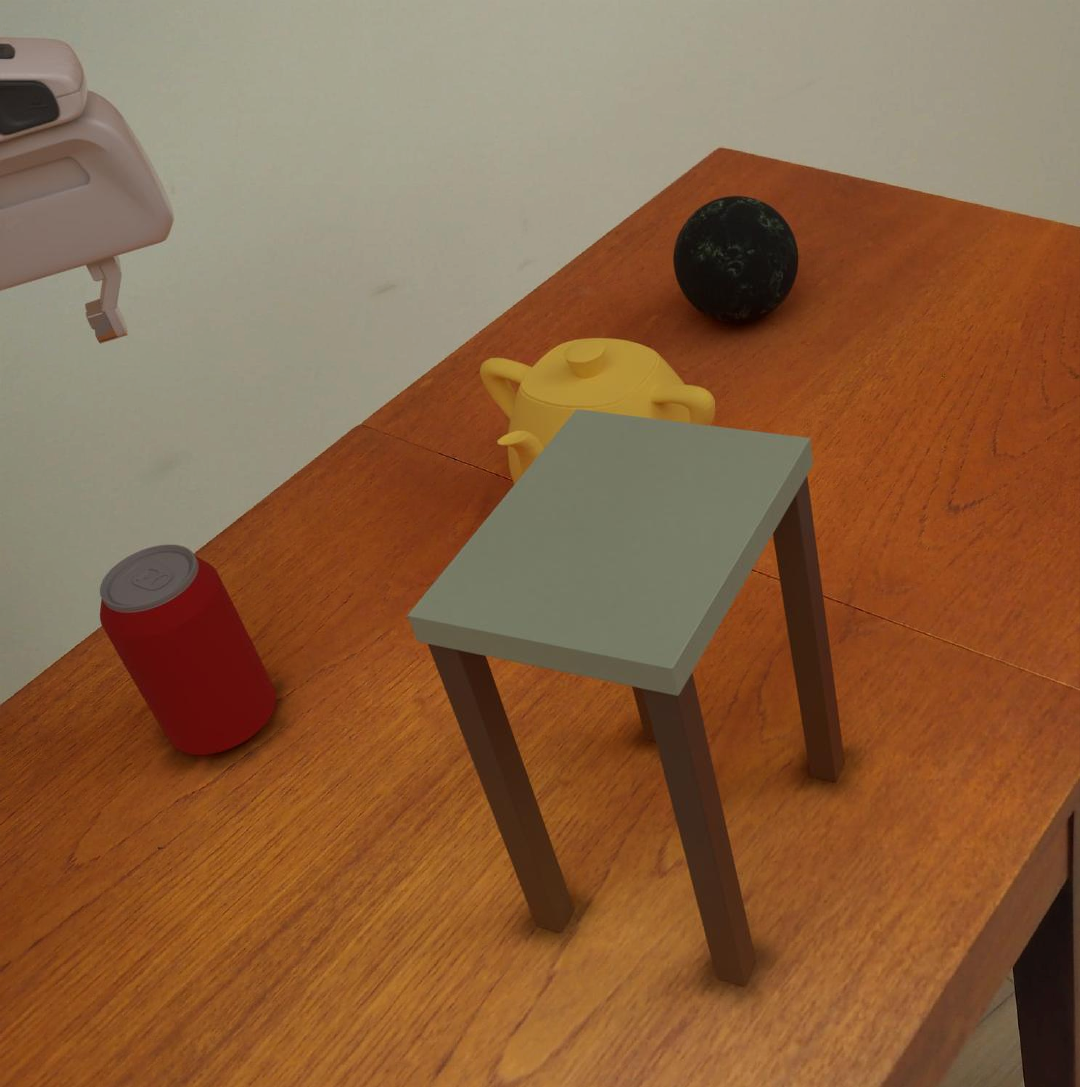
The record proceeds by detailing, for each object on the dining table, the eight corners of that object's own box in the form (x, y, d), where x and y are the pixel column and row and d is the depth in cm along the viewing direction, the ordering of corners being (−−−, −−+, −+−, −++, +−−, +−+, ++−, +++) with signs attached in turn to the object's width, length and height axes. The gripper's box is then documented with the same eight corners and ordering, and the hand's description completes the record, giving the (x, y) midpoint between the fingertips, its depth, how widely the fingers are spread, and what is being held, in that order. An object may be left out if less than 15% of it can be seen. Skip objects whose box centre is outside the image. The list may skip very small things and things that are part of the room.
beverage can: (230, 671, 88) (154, 525, 80) (304, 701, 85) (233, 552, 77) (148, 743, 84) (61, 597, 76) (223, 778, 80) (140, 629, 73)
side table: (748, 993, 65) (671, 668, 51) (528, 929, 69) (406, 615, 56) (851, 759, 75) (810, 437, 61) (654, 717, 79) (576, 408, 66)
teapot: (491, 478, 100) (448, 338, 93) (673, 417, 103) (645, 276, 96) (541, 586, 90) (496, 438, 82) (742, 514, 93) (716, 365, 85)
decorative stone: (659, 328, 114) (637, 218, 107) (736, 274, 119) (719, 165, 113) (753, 358, 108) (735, 243, 102) (828, 299, 113) (816, 187, 107)
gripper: (-374, 200, 59) (-193, 459, 68) (107, 70, 63) (219, 328, 72) (-345, 152, 64) (-179, 400, 72) (101, 33, 68) (207, 280, 77)
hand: (23, 363), depth 72 cm, fingers open, 8 cm apart
